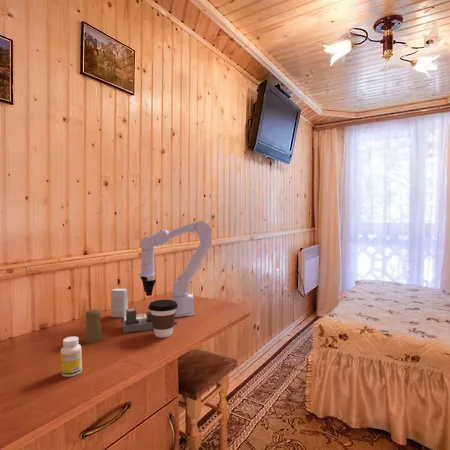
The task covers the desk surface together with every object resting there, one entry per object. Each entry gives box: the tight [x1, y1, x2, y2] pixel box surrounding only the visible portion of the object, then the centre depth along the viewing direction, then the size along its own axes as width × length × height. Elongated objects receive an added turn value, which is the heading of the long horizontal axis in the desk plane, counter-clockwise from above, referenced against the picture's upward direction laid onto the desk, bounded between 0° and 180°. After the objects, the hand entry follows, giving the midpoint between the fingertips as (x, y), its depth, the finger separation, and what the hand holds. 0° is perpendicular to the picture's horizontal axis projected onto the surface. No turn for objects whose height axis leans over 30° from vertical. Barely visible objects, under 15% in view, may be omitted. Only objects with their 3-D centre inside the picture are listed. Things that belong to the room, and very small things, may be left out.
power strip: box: [122, 311, 178, 334], centre depth 131 cm, size 22×7×6 cm, turn 110°
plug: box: [126, 308, 137, 325], centre depth 128 cm, size 4×4×7 cm
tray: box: [123, 313, 146, 321], centre depth 139 cm, size 9×7×1 cm
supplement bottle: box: [60, 336, 83, 378], centre depth 93 cm, size 5×5×10 cm
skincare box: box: [110, 288, 129, 318], centre depth 145 cm, size 6×4×12 cm
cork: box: [83, 308, 103, 344], centre depth 117 cm, size 6×6×11 cm
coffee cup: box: [148, 299, 178, 339], centre depth 122 cm, size 11×11×12 cm
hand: (148, 293), depth 145 cm, fingers open, 7 cm apart
